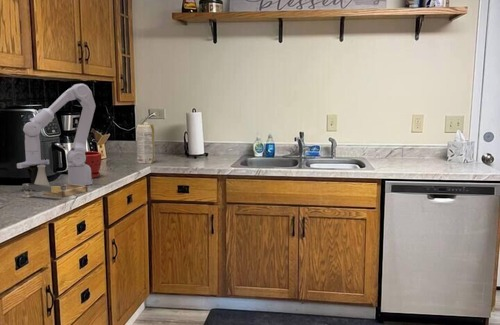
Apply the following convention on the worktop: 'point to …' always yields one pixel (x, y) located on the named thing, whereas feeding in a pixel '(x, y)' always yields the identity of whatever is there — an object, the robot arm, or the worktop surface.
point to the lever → (41, 187)
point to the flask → (41, 176)
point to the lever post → (27, 193)
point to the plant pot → (94, 166)
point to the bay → (69, 191)
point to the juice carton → (145, 143)
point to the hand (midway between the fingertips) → (34, 183)
